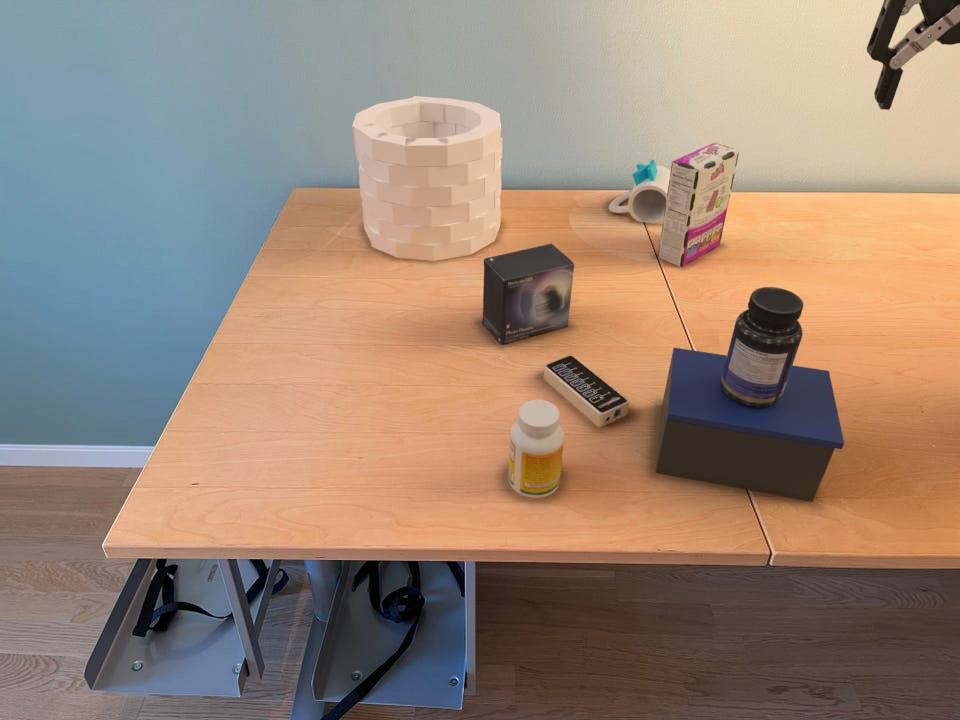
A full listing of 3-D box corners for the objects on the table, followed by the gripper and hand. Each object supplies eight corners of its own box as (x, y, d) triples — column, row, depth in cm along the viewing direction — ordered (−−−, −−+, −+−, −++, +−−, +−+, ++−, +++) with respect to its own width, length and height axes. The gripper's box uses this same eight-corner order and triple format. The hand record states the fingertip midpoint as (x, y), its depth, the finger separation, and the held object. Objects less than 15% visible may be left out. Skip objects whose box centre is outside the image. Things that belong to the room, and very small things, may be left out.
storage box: (801, 429, 80) (820, 375, 75) (811, 504, 71) (835, 448, 66) (661, 406, 83) (672, 353, 78) (655, 475, 74) (666, 420, 69)
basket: (488, 268, 110) (489, 150, 98) (343, 255, 113) (328, 140, 102) (511, 203, 129) (514, 98, 118) (387, 194, 133) (378, 91, 121)
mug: (669, 145, 125) (661, 169, 116) (681, 192, 129) (675, 219, 120) (606, 163, 130) (594, 188, 121) (620, 208, 134) (609, 234, 125)
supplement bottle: (498, 480, 73) (499, 411, 68) (533, 455, 76) (537, 387, 71) (535, 509, 70) (539, 439, 64) (570, 482, 73) (577, 413, 67)
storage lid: (826, 376, 75) (829, 370, 74) (841, 449, 66) (844, 443, 65) (672, 353, 78) (673, 347, 78) (666, 419, 69) (668, 413, 69)
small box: (501, 349, 92) (503, 280, 86) (480, 324, 97) (480, 257, 91) (570, 329, 96) (576, 262, 90) (546, 306, 101) (551, 241, 94)
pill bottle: (744, 365, 75) (769, 276, 68) (794, 394, 71) (826, 302, 64) (706, 386, 72) (729, 295, 65) (756, 418, 68) (786, 324, 62)
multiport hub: (570, 368, 89) (571, 353, 87) (628, 416, 81) (631, 401, 80) (542, 379, 87) (543, 365, 86) (599, 430, 80) (601, 415, 78)
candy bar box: (694, 237, 118) (713, 141, 108) (720, 247, 115) (742, 149, 105) (654, 258, 112) (670, 159, 102) (680, 270, 109) (700, 168, 99)
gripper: (923, -88, 56) (857, 117, 65) (1130, -84, 53) (1029, 130, 62) (903, -95, 61) (846, 94, 71) (1089, -92, 58) (1002, 105, 68)
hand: (931, 111), depth 67 cm, fingers open, 8 cm apart
